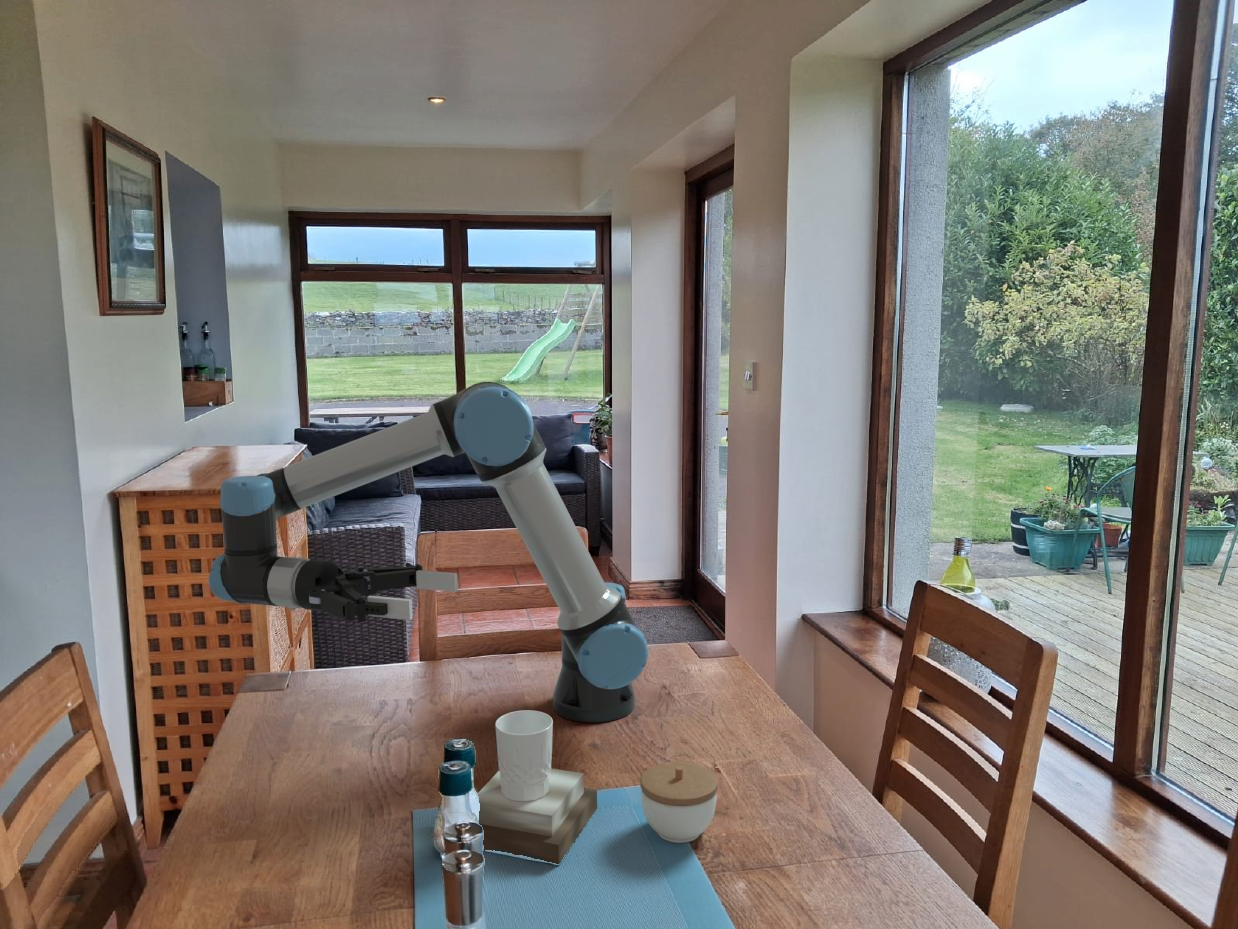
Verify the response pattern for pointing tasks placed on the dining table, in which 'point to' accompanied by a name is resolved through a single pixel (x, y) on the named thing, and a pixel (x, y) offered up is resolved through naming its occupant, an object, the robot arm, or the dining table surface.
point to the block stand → (537, 817)
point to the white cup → (524, 754)
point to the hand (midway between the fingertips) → (435, 595)
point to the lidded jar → (679, 799)
